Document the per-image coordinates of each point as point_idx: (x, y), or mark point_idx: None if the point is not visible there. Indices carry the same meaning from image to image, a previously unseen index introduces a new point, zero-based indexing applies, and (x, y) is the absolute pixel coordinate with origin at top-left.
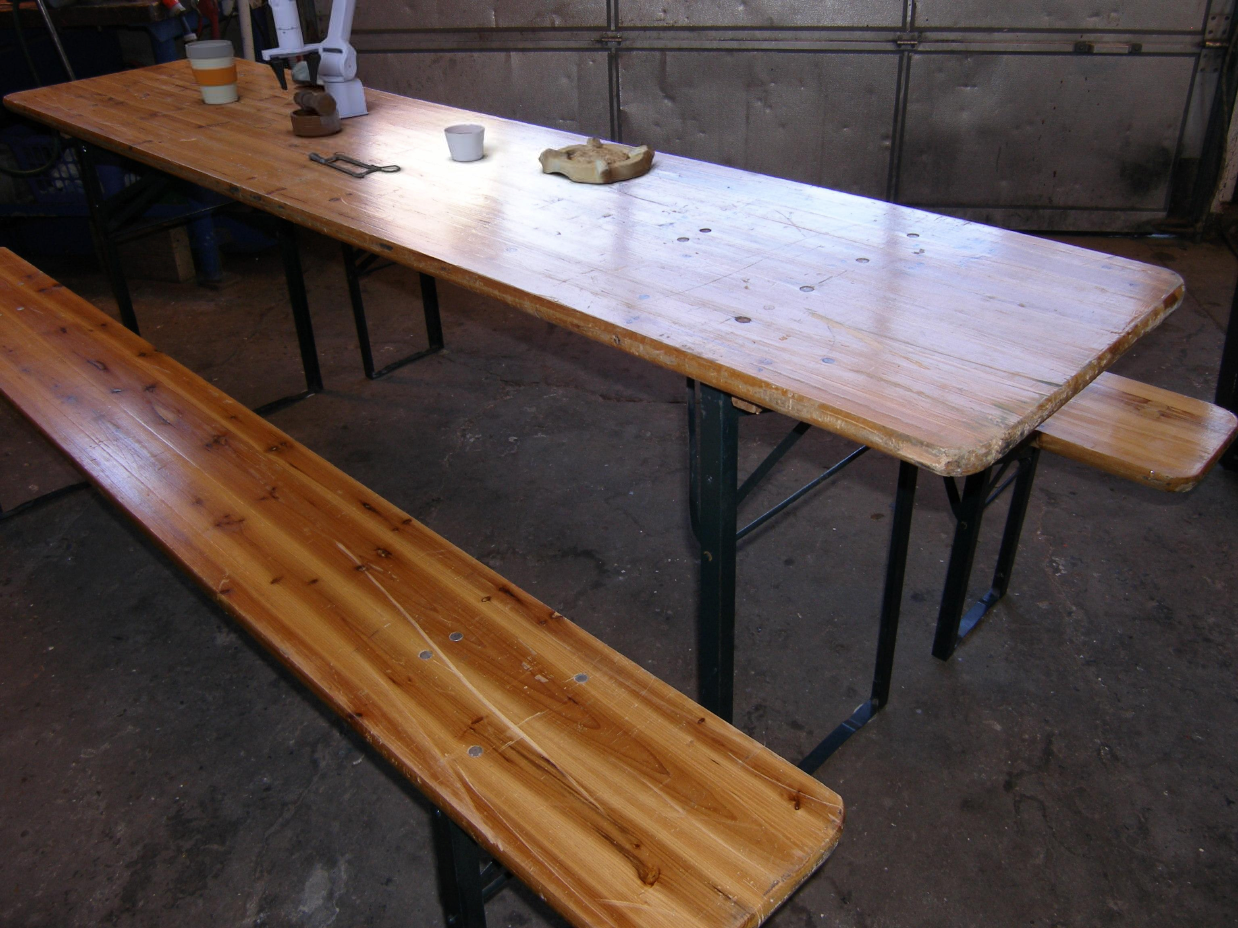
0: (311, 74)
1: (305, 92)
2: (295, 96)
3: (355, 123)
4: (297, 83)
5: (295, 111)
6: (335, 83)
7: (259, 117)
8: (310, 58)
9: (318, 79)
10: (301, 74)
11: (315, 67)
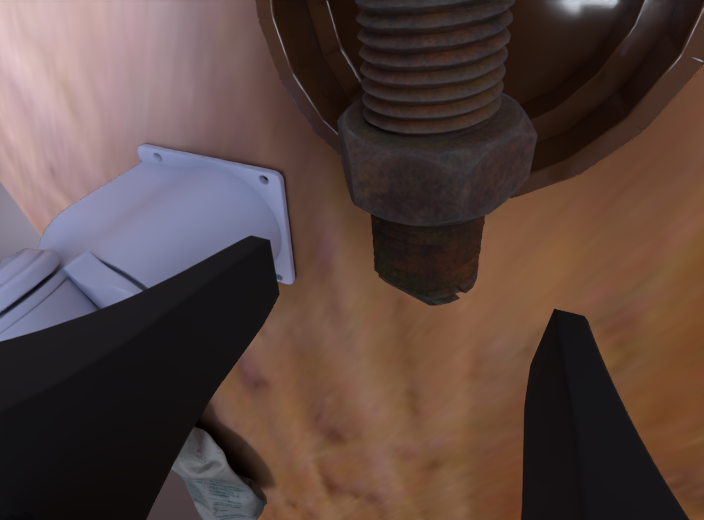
0: (216, 334)
1: (421, 153)
2: (465, 269)
3: (216, 28)
4: (259, 492)
5: (542, 167)
6: (139, 280)
7: (487, 428)
8: (51, 467)
9: (213, 463)
10: (238, 503)
11: (107, 330)
